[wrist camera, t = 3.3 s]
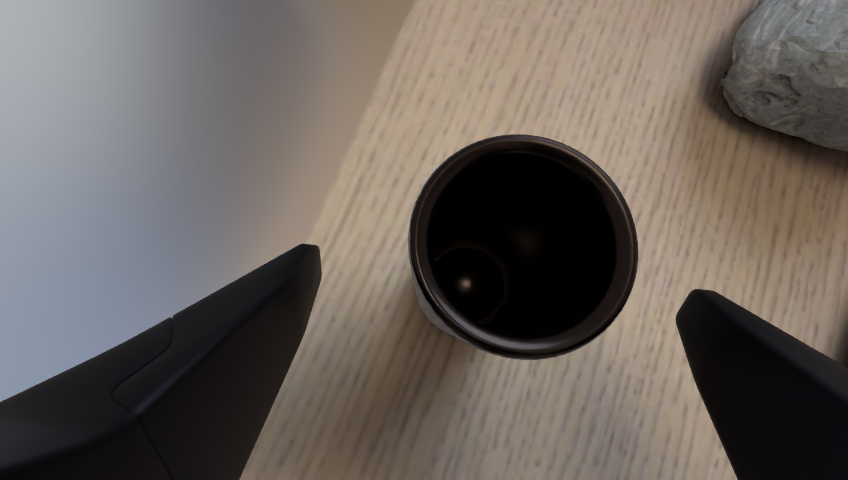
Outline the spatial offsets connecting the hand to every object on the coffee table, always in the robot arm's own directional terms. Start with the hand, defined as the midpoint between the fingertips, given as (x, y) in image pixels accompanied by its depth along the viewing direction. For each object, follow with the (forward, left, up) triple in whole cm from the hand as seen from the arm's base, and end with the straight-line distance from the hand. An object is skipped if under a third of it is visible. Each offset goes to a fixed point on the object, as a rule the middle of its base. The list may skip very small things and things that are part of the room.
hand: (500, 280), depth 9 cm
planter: (+1, 0, -8) cm, 9 cm away
